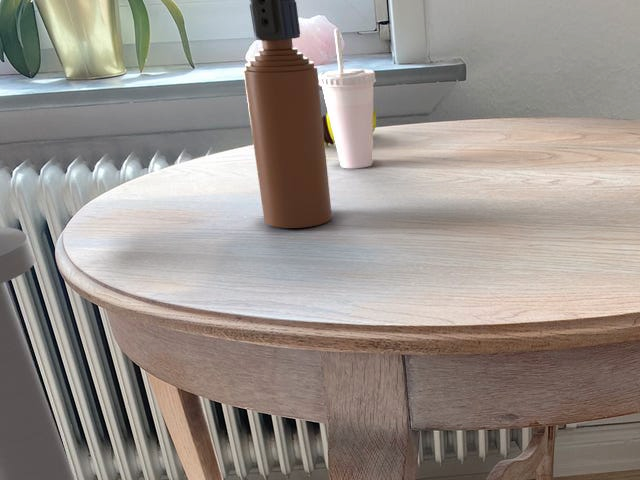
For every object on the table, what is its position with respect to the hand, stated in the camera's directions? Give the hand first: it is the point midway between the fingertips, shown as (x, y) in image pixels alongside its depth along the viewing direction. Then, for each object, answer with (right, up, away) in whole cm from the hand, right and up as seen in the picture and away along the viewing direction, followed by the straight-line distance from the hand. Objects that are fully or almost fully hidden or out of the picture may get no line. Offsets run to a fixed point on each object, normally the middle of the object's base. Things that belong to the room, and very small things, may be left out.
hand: (278, 35), depth 77 cm
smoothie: (+3, -1, +27) cm, 27 cm away
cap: (0, 0, 0) cm, 0 cm away
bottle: (0, -13, +8) cm, 15 cm away
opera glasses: (0, +7, +38) cm, 39 cm away
